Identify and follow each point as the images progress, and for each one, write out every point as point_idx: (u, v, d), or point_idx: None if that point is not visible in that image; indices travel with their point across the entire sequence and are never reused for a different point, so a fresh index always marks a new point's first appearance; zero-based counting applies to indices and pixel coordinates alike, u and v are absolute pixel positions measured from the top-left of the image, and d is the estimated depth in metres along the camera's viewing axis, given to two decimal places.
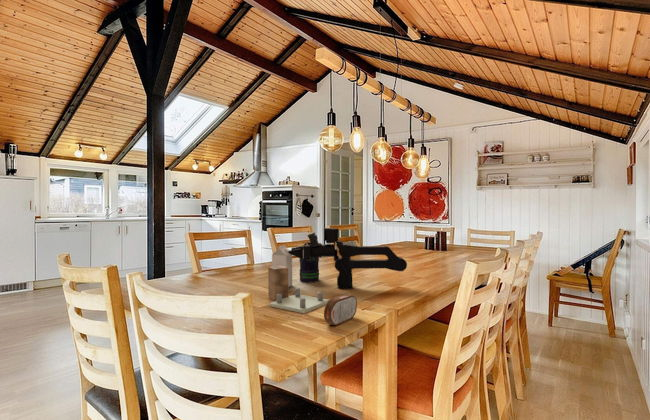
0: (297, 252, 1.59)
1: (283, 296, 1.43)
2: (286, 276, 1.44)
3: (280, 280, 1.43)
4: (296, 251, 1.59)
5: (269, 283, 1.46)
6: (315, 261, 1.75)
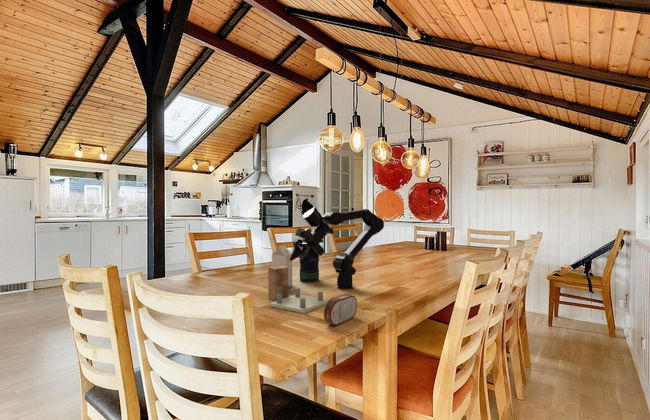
0: (308, 255, 1.47)
1: (283, 296, 1.43)
2: (286, 276, 1.44)
3: (280, 280, 1.43)
4: (307, 255, 1.46)
5: (269, 283, 1.46)
6: (315, 261, 1.75)
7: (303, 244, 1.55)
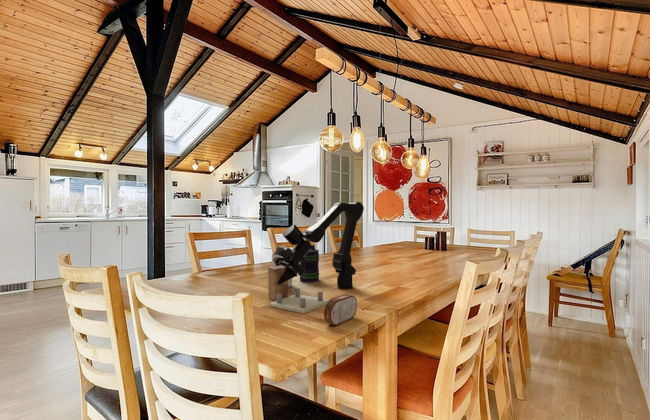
0: (286, 275, 1.42)
1: (283, 296, 1.43)
2: None
3: None
4: (285, 275, 1.42)
5: (269, 283, 1.46)
6: (315, 261, 1.75)
7: (285, 263, 1.48)
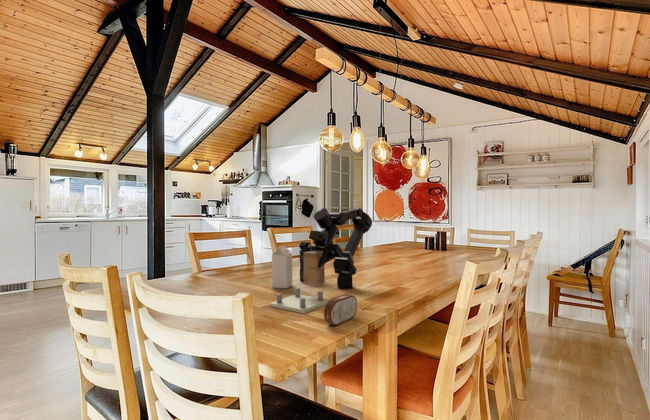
0: (324, 258, 1.42)
1: (321, 280, 1.42)
2: None
3: None
4: (324, 258, 1.42)
5: (304, 269, 1.42)
6: None
7: (316, 247, 1.47)
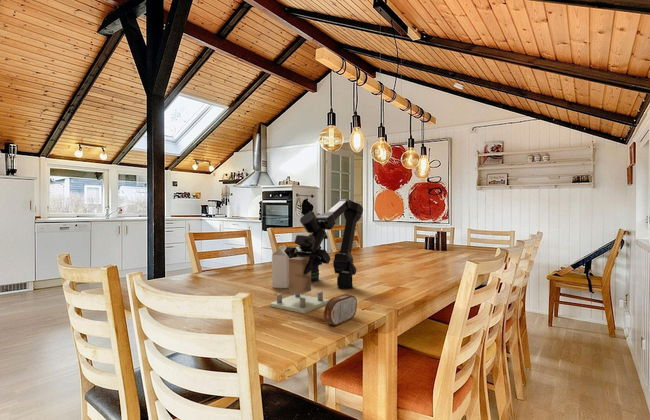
0: (311, 264, 1.34)
1: (307, 288, 1.35)
2: None
3: None
4: (311, 265, 1.34)
5: (290, 276, 1.34)
6: None
7: (303, 252, 1.40)
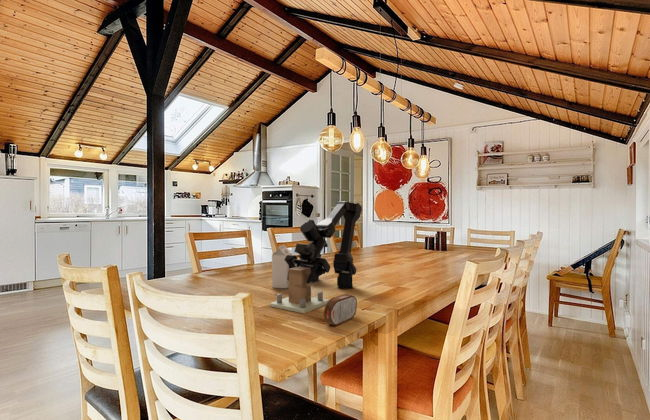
0: (314, 274, 1.34)
1: (307, 298, 1.35)
2: None
3: (305, 281, 1.34)
4: (313, 274, 1.33)
5: (290, 287, 1.34)
6: None
7: (300, 261, 1.40)
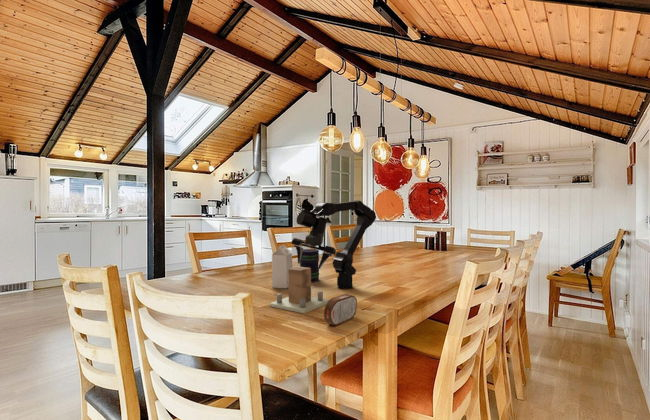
0: (323, 260, 1.52)
1: (307, 298, 1.35)
2: (309, 277, 1.36)
3: (305, 281, 1.34)
4: (323, 260, 1.51)
5: (290, 287, 1.34)
6: (315, 261, 1.75)
7: (307, 245, 1.53)
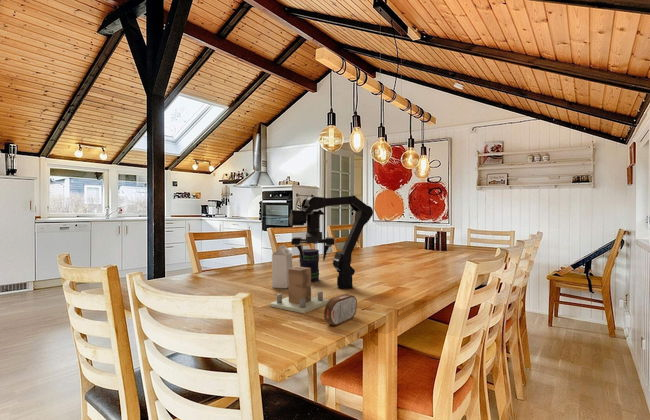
0: None
1: (307, 298, 1.35)
2: (309, 277, 1.36)
3: (305, 281, 1.34)
4: (326, 252, 1.57)
5: (290, 287, 1.34)
6: (315, 261, 1.75)
7: None
